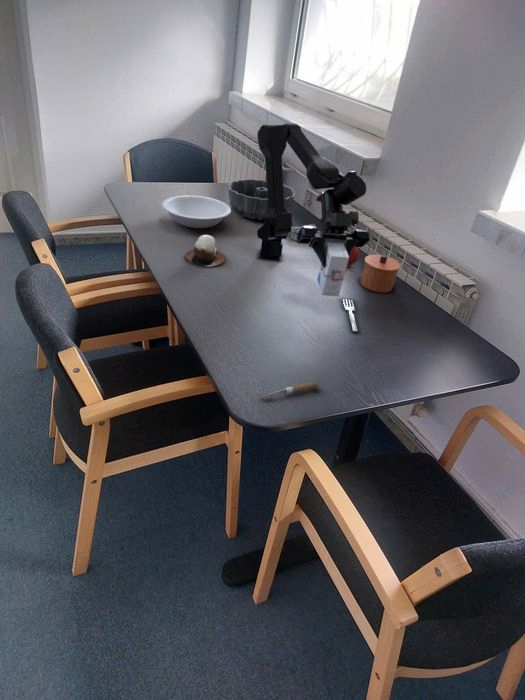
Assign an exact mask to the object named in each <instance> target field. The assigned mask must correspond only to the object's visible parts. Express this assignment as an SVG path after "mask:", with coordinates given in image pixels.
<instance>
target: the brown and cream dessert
mask: <svg viewBox="0 0 525 700" xmlns="http://www.w3.org/2000/svg"><path fill="white" fill-rule="evenodd" d="M217 246H218V245H217V241H216V239H215V238H214V236H212V235H209V234H203V235H200V236H199V237H198V238H197V239H196V241H195V244H194V246H193V249H190V250H189V251H187V252H186V254H185V258H186V260H187V261H188V262H189V263H191V264H193V265H195V266H199V267H215V266H219V265H221V264H223V263H224V262H225V261H226V257H225V254H224V253H223V252H221V251H220V250H217Z"/></svg>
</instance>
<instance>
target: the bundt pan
mask: <svg viewBox="0 0 525 700" xmlns="http://www.w3.org/2000/svg"><path fill="white" fill-rule="evenodd" d="M226 187H227V188H228V189H227V190H228V199H229V204H230V205H229V206H230V207H231V208H232V210H233V211H234V212H235V213H237V214H239V215H240V216H241V217H242V218H246V217H247V218H248V219H250V220H255V219H257V220H258V221H260V222H261V221H262V220H264V216H265V214H266V212H267V210H268V193H267V180H264V179H254V178H246V179H244V178H243V179H237V180H233V181H230V182H229V184H227V186H226ZM283 189H284V206H285V208H286V210H287V212H290V210H291V208H292V204H293V201H294V198H295V196H296V194H297V192H296V191H294V189H293V188H292V187H289V186H287V185H286V184H283Z"/></svg>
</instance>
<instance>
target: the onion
mask: <svg viewBox="0 0 525 700" xmlns="http://www.w3.org/2000/svg"><path fill="white" fill-rule="evenodd" d="M359 258H360V251H359V249H358V247H354V248H353V249H352V250H351V252H350V255H349V260H348V263H347V267H350V266H352V265H353V264H355V263H357V261H358V260H359Z"/></svg>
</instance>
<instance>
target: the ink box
mask: <svg viewBox="0 0 525 700" xmlns="http://www.w3.org/2000/svg"><path fill="white" fill-rule="evenodd" d="M325 254H326V267H325V268H324V267H323V266H322V264H321V263H320V268H319V271H318V275H317V283H318V286H319V289H320V293H321V295H322V296H329V297H340V293H341V289H342V285H343V281H344V278H345V274H346V271H347V267H348V266H347V263H348V260H349V256H348V253H347V250H346V248H345V245H344V242H333V241H325Z"/></svg>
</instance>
